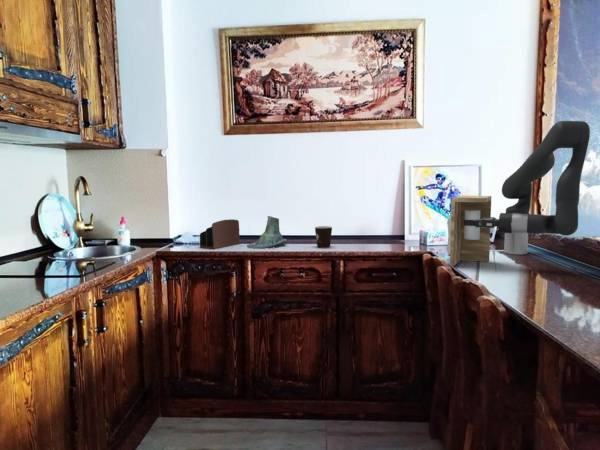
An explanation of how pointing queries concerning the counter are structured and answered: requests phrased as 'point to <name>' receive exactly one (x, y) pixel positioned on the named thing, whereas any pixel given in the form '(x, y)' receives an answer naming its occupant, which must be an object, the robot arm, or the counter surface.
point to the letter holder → (220, 235)
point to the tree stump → (269, 236)
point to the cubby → (459, 245)
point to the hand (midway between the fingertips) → (465, 221)
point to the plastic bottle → (449, 235)
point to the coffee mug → (323, 236)
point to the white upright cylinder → (472, 231)
